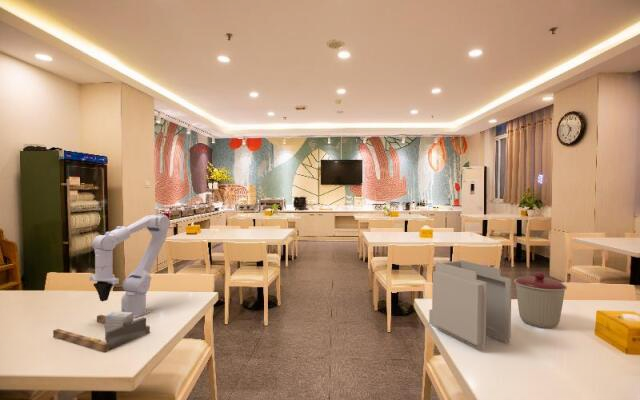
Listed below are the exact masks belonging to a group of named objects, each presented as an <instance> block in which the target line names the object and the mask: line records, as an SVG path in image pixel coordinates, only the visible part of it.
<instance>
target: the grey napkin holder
mask: <svg viewBox="0 0 640 400" xmlns="http://www.w3.org/2000/svg"><path fill="white" fill-rule="evenodd" d="M501 270H502V269H501V268H497V267H494V266H490V265H489V266H488V265H484V264H481V263H477V262H471V261H467V260H463V259H457V260H454V261H444V262H439V261H435V271H432V293H431V294H432V296H431V297H432V298H431V299H432V300H431V301H432V302H431V309H429V311H428V312H429V313H428V314H429V316H428V321H429V322H428V323H429V325H431V327H433V328H434V329H437V330H439V331H440V332H442V333H444V334H447V335H449V336H450V337H452V338H454V339H457V340H458V341H460V342H463V343H467V342H468V343H470V344H473V345H475V346H476V347H479V348H480V349H482V350H486V347H487V346H486V345H487V343H486V341H487V338H488V337H489V336H492V337H494V338H496V339H497V340H501V341H503V342H505V343H507V344H510V341H511V340H510V339H511V336H512V335H511V334H512V333H511V331H512V329H511V327H512V280H513V279H512V278H509V277H505V276H502V275H501V274H502V273H501V272H502V271H501Z"/></svg>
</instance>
